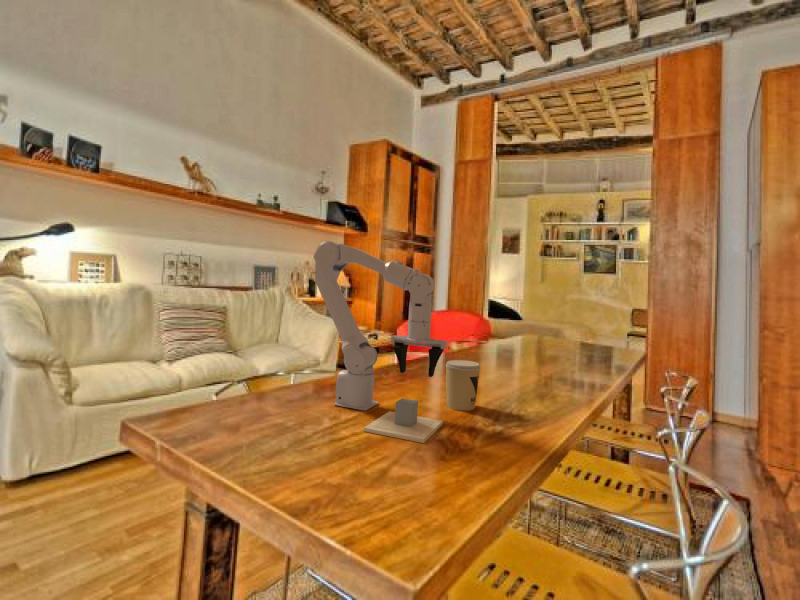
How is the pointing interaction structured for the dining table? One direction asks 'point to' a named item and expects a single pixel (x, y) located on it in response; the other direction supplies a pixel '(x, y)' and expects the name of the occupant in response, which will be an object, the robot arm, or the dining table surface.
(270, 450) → the dining table surface
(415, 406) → the block
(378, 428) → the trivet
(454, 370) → the coffee cup
